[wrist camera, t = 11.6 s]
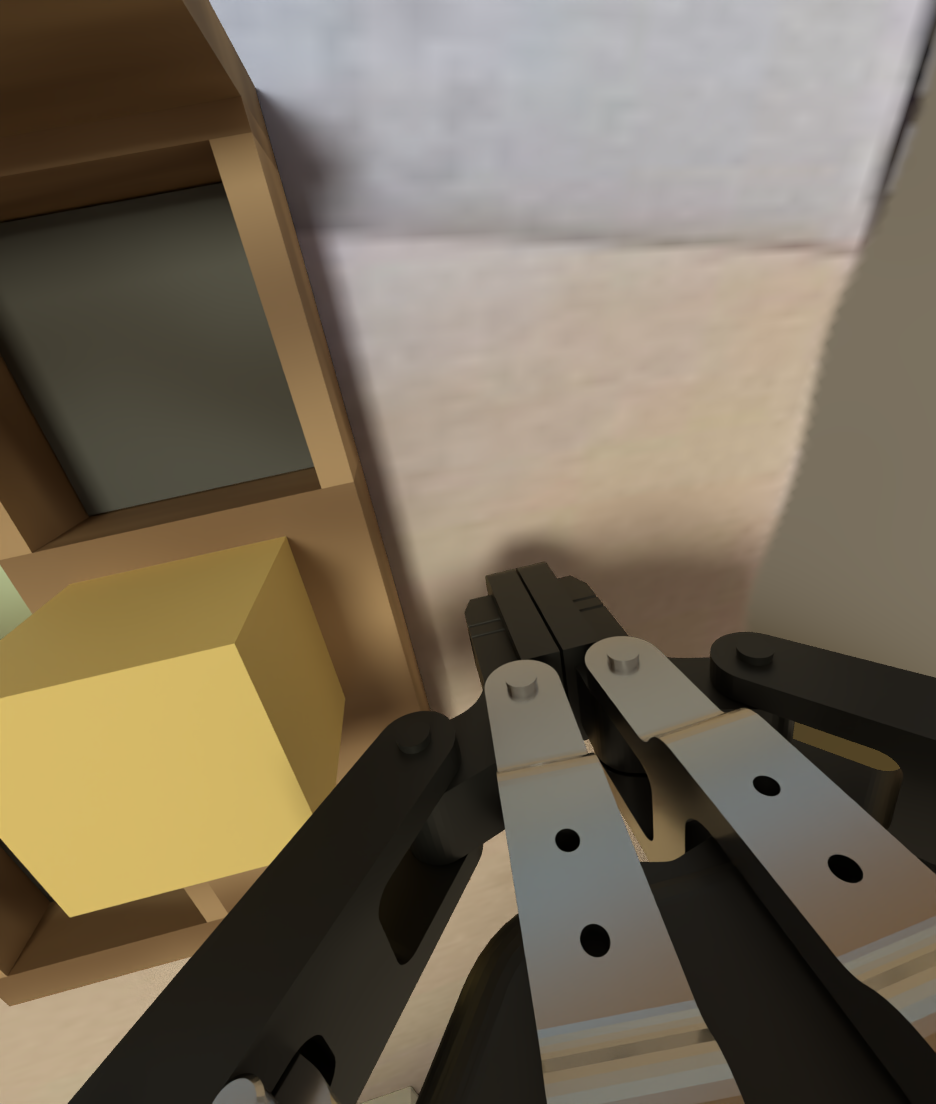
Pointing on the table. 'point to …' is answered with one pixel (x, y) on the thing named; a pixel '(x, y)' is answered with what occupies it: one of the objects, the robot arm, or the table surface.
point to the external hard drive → (397, 1097)
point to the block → (166, 726)
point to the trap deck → (163, 394)
